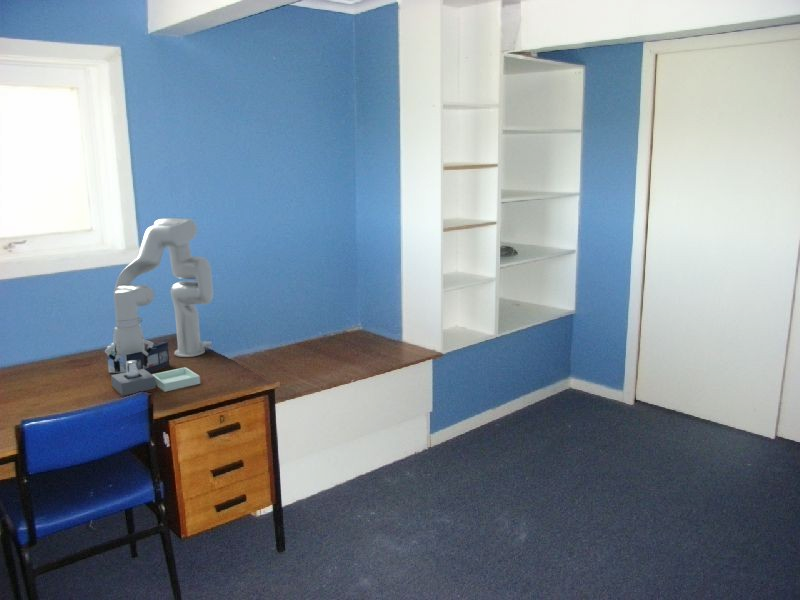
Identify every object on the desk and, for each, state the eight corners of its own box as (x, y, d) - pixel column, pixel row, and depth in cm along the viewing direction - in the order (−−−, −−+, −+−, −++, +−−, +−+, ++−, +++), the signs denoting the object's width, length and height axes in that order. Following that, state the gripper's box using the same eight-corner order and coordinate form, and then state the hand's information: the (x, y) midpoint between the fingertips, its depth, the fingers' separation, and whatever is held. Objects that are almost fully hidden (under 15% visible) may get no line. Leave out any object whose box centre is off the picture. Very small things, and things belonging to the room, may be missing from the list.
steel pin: (137, 384, 257) (135, 359, 255) (141, 387, 254) (138, 362, 252) (126, 387, 255) (124, 361, 253) (130, 390, 252) (127, 364, 250)
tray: (186, 374, 269) (185, 367, 268) (200, 383, 258) (199, 375, 258) (151, 382, 260) (150, 374, 260) (164, 391, 250) (164, 383, 249)
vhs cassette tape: (132, 378, 264) (129, 354, 262) (127, 377, 266) (124, 353, 264) (170, 366, 279) (168, 342, 277) (165, 364, 281) (163, 341, 279)
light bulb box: (108, 373, 271) (105, 347, 269) (114, 367, 278) (112, 342, 275) (135, 372, 271) (133, 346, 269) (141, 367, 278) (138, 341, 276)
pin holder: (144, 379, 263) (143, 368, 262) (155, 388, 254) (154, 376, 253) (112, 386, 255) (111, 375, 254) (122, 395, 246) (121, 383, 245)
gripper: (147, 317, 257) (151, 361, 261) (99, 324, 246) (104, 370, 250) (154, 321, 251) (158, 365, 255) (105, 328, 241) (110, 375, 244)
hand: (131, 368), depth 252 cm, fingers open, 9 cm apart
